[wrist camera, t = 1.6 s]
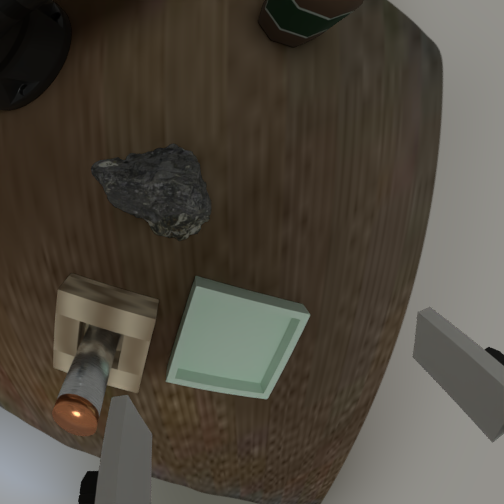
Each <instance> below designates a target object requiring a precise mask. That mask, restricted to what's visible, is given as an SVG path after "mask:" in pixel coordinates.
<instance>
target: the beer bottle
mask: <svg viewBox="0 0 504 504" xmlns="http://www.w3.org/2000/svg"><path fill="white" fill-rule="evenodd" d="M362 3H363V0H265V1H264V3H263V7H262V10H261V13H260V17H259V20H258V22H259V24H260V25H261V27H262V28H263V29H264V31H265V32H266V34H267V35H268V37H269V38H270V40H272V41H275V42H279V43H282V44H285V45H288V46H291V47H296V46H298V45H301V44H303V43H305V42H308V41H310V40H313V39H314V38H316V37H318V36H320V35H321V34H322V33H324V32H325V31H326V30H328V29H329V28H330V27H332V26H333V25H335V24H336V23H337V22H339V21H340V20H342V19H343V18H344V17H346V16H347V15H349V14H350V13H352V12H353V11H355V10H356V9H357V8H358V7H359V6H360V5H361V4H362Z"/></svg>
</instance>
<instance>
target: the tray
mask: <svg viewBox="0 0 504 504" xmlns="http://www.w3.org/2000/svg"><path fill="white" fill-rule="evenodd" d="M309 317H310V313H309V312H308V311H307V309H306V308H305V306H304V305H303V304H300V303H296V302H292V301H288V300H284V299H280V298H277V297H273V296H269V295H265V294H261V293H257V292H254V291H250V290H246V289H242V288H239V287H235V286H231V285H228V284H224V283H220V282H217V281H213V280H209V279H206V278H202V277H199V276H195V279H194V282H193V285H192V288H191V291H190V294H189V297H188V300H187V304H186V307H185V310H184V313H183V316H182V319H181V323H180V326H179V329H178V332H177V336H176V339H175V342H174V346H173V349H172V352H171V356H170V359H169V362H168V366H167V373H166V382H169V383H174V384H179V385H183V386H188V387H193V388H199V389H204V390H209V391H215V392H221V393H227V394H233V395H240V396H247V397H254V398H262V399H268V397H269V395H270V393H271V391H272V390H273V388H274V386H275V384H276V382H277V380H278V378H279V376H280V375H281V373H282V371H283V369H284V367H285V365H286V363H287V361H288V359H289V357H290V355H291V353H292V351H293V349H294V347H295V345H296V343H297V341H298V339H299V337H300V335H301V333H302V331H303V329H304V327H305V325H306V323H307V321H308V319H309Z"/></svg>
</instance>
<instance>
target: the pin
mask: <svg viewBox="0 0 504 504" xmlns="http://www.w3.org/2000/svg"><path fill="white" fill-rule="evenodd" d="M120 336H121V334H120V333H116V332H113V331H110V330H106V329H103V328H100V327H97V326H93V325H90V324H89V326H88V328H87V330H86V333H85V335H84V337H83V339H82V341H81V343H80V346H79V348H78V350H77V352H76V355H75V357H74V359H73V362H72V364H71V366H70V369H69V371H68V373H67V376H66V378H65V381H64V383H63V385H62V388H61V390H60V393H59V396H58V398H57V401H56V403H55V406H54V409H53V412H52V414H53V418H54V420H55V421H56V423H57V424H58V425H59V426H60V427H61V428H63V429H64V430H66V431H67V432H69V433H72V434H74V435H78V436H89V435H92V434H94V433H95V431H96V429H97V424H98V420H99V415H100V411H101V407H102V402H103V398H104V394H105V390H106V386H107V382H108V378H109V375H110V371H111V367H112V364H113V360H114V356H115V353H116V349H117V346H118V342H119V339H120Z"/></svg>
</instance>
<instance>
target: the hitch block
mask: <svg viewBox="0 0 504 504" xmlns="http://www.w3.org/2000/svg"><path fill="white" fill-rule="evenodd" d="M158 303H159V300H158V299H155V298H151V297H148V296H144V295H141V294H137V293H134V292H130V291H127V290H124V289H120V288H117V287H114V286H111V285H107V284H104V283H101V282H98V281H95V280H91V279H88V278H85V277H82V276H79V275H76V274H73V273H71V274H70V275H69V276H68V277H67V279H66V280H65V281H64V282H63V284H62V285H61V286H60V287H59V289H58V293H57V304H56V315H55V331H54V356H53V368H56V369H59V370H62V371H65V372H67V373H68V371H69V369H70V366H71V364H72V362H73V359H74V357H75V355H76V352H77V350H78V348H79V346H80V343H81V341H82V339H83V337H84V335H85V333H86V330H87V328H88V326H89V324H90V325H93V326H97V327H100V328H103V329H106V330H110V331H113V332H116V333H120V334H121V336H120V339H119V342H118V346H117V349H116V353H115V356H114V360H113V364H112V367H111V371H110V375H109V378H108V382H107V385H109V386H113V387H116V388H120V389H124V390H128V391H132V392H136V393H138V391H139V386H140V382H141V378H142V373H143V369H144V365H145V361H146V357H147V352H148V348H149V344H150V340H151V337H152V333H153V329H154V325H155V321H156V316H157V309H158Z"/></svg>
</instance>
